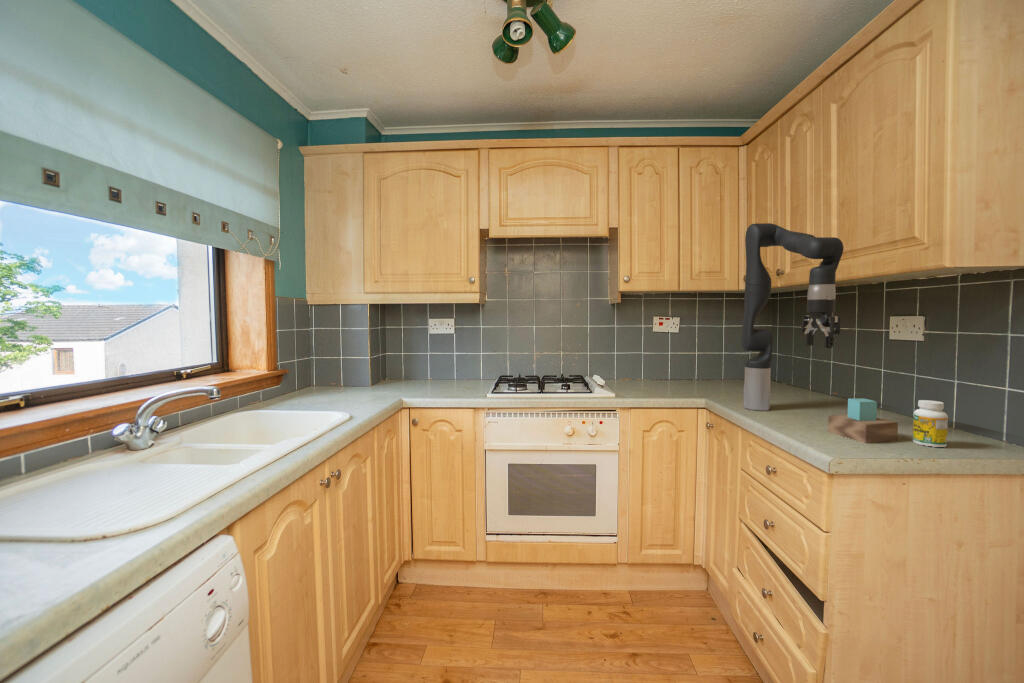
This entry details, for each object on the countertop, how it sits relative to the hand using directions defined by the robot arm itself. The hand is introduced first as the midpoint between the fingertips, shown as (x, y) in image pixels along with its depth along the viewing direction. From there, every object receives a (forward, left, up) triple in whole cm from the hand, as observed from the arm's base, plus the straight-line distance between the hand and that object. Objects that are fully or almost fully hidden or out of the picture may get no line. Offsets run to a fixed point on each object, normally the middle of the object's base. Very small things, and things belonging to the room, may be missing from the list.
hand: (818, 346), depth 141 cm
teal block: (+9, +7, -22) cm, 25 cm away
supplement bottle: (+18, +20, -28) cm, 39 cm away
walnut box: (+10, +7, -28) cm, 31 cm away
